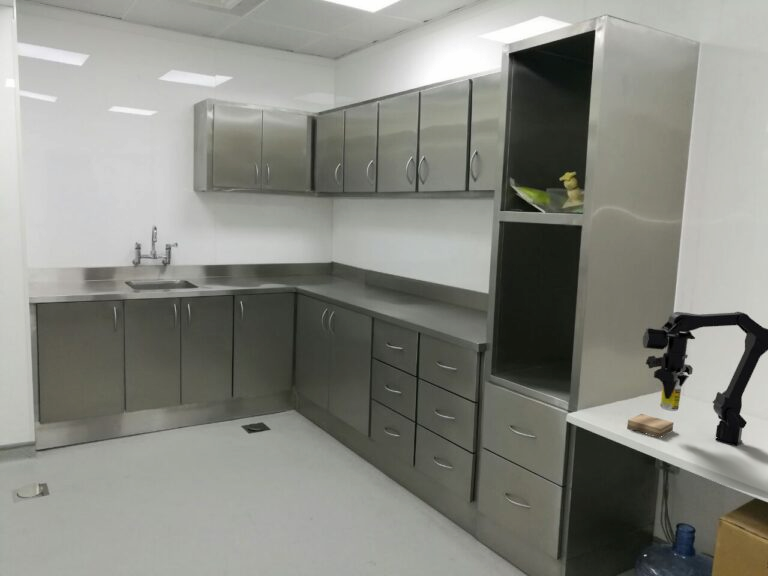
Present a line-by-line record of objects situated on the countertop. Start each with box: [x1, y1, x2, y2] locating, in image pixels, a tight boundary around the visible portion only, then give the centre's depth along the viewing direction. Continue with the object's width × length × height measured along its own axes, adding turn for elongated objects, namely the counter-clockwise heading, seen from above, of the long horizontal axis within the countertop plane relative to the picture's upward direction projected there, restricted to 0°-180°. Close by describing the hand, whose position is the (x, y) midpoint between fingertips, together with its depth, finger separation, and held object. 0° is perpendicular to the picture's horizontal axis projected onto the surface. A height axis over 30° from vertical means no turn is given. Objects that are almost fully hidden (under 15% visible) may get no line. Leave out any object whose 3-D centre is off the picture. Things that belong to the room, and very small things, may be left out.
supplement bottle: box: [659, 379, 682, 412], centre depth 208 cm, size 6×6×10 cm
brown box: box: [626, 413, 674, 438], centre depth 215 cm, size 11×11×3 cm
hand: (670, 397), depth 208 cm, fingers closed on supplement bottle, 6 cm apart
